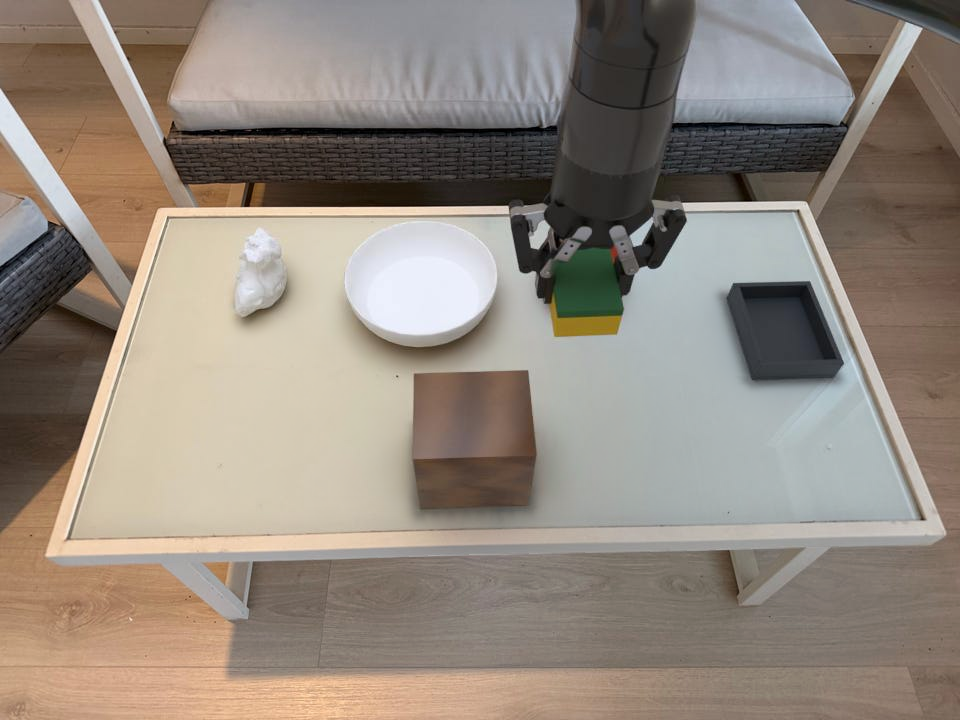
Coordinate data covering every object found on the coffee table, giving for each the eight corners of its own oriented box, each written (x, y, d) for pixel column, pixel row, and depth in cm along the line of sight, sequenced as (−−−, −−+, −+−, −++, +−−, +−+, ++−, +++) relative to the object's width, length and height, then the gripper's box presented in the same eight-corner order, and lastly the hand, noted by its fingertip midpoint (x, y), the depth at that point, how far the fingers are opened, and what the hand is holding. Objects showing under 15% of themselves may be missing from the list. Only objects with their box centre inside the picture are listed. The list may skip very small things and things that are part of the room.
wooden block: (521, 426, 83) (528, 369, 73) (528, 505, 77) (536, 455, 67) (420, 429, 83) (413, 373, 73) (419, 509, 77) (412, 459, 67)
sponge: (617, 334, 60) (624, 309, 57) (554, 337, 60) (558, 311, 57) (602, 266, 65) (608, 239, 62) (543, 268, 65) (547, 241, 62)
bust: (260, 337, 93) (298, 297, 85) (204, 312, 89) (239, 268, 82) (281, 270, 100) (318, 228, 92) (231, 245, 96) (265, 198, 88)
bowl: (510, 353, 89) (512, 323, 84) (357, 375, 87) (350, 346, 82) (481, 244, 100) (482, 212, 95) (345, 261, 98) (338, 229, 93)
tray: (833, 377, 88) (844, 363, 85) (752, 379, 87) (760, 365, 85) (801, 295, 95) (810, 280, 93) (726, 297, 95) (733, 282, 92)
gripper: (513, 175, 46) (503, 332, 59) (728, 168, 46) (669, 325, 60) (504, 105, 50) (497, 267, 64) (701, 100, 51) (652, 261, 64)
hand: (581, 294), depth 62 cm, fingers closed on sponge, 5 cm apart
